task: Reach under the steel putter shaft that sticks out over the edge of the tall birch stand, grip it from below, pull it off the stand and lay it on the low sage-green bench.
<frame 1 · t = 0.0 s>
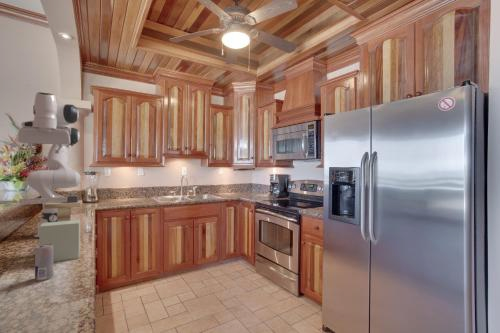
hand: (45, 153, 127), 48 cm above the countertop, tool pointing down, fingers open, 8 cm apart
energy drink: (44, 278, 96), on the countertop
putter: (47, 203, 122), point 24 cm above the countertop, touching stand
stand: (63, 251, 126), on the countertop
bench: (60, 258, 116), on the countertop
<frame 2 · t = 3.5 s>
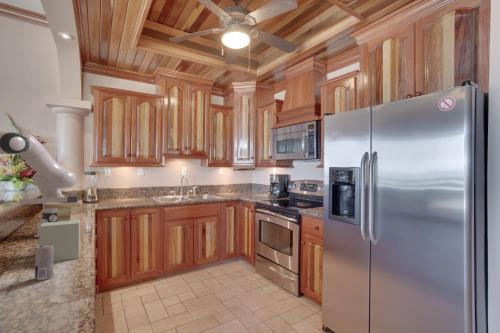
hand: (1, 202, 114), 25 cm above the countertop, tool pointing upward, fingers open, 8 cm apart
nothing on the countertop moved.
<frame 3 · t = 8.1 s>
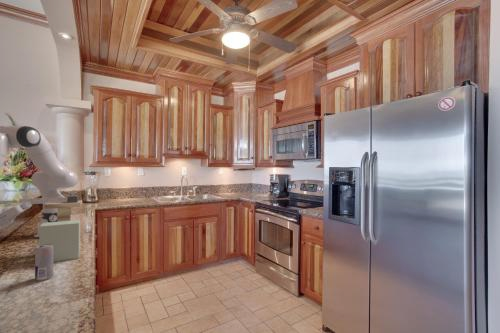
hand: (36, 200, 120), 26 cm above the countertop, tool pointing upward, fingers closed on putter, 2 cm apart
putter: (47, 203, 122), point 24 cm above the countertop, touching gripper, stand
everything else where it was.
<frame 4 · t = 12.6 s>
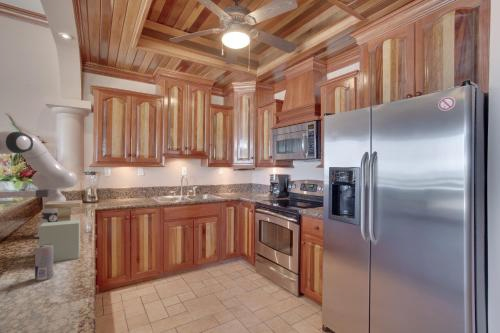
hand: (0, 193, 107), 30 cm above the countertop, tool pointing upward, fingers closed on putter, 2 cm apart
putter: (13, 197, 109), point 28 cm above the countertop, touching gripper
everything else where it was.
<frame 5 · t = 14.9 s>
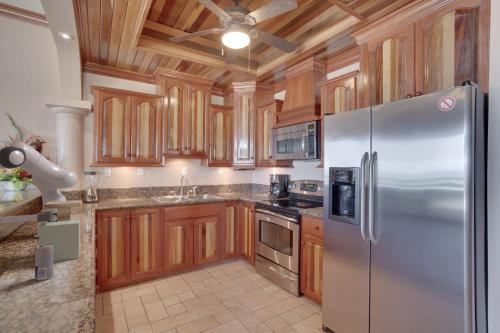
hand: (1, 219, 106), 20 cm above the countertop, tool pointing upward, fingers closed on putter, 2 cm apart
putter: (14, 222, 108), point 18 cm above the countertop, touching gripper
everything else where it was.
when the fingers open (20 cm above the countertop, at t = 17.1 s): putter drops 2 cm, resting on bench.
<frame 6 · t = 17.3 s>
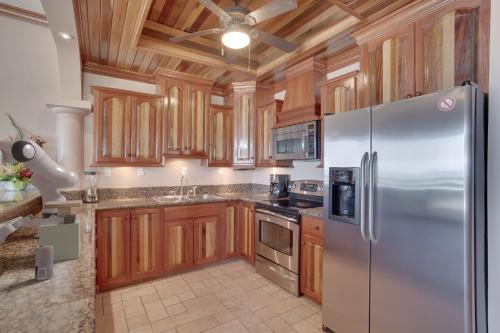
hand: (30, 216, 111), 20 cm above the countertop, tool pointing upward, fingers open, 4 cm apart
putter: (42, 224, 113), point 16 cm above the countertop, touching bench
everything else where it was.
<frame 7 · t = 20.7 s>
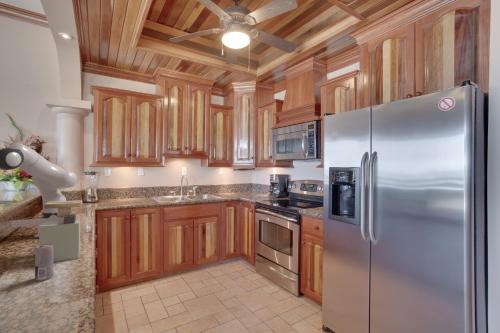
nothing on the countertop moved.
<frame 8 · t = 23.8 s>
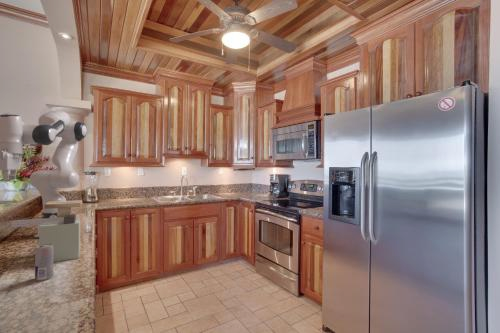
hand: (9, 180, 116), 35 cm above the countertop, tool pointing down, fingers open, 8 cm apart
nothing on the countertop moved.
at the end: putter inside the target area on the bench (0.6 cm from its centre), point 16.0 cm above the bench's base; putter touching bench; the gripper is holding nothing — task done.
